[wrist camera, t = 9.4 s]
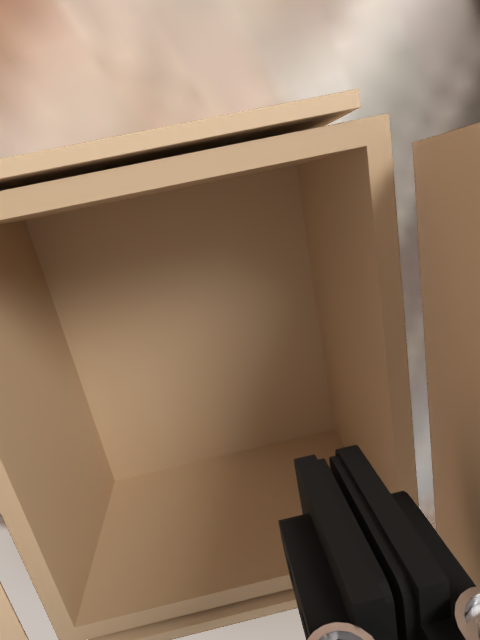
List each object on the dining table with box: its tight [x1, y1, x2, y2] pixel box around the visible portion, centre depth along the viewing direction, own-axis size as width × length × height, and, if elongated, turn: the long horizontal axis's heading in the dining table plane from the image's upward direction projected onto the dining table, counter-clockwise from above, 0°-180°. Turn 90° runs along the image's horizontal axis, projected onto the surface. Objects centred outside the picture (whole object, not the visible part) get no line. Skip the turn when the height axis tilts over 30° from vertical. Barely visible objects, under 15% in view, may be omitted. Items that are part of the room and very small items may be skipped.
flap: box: [412, 122, 480, 586], centre depth 11 cm, size 1×16×8 cm, turn 11°
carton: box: [0, 89, 419, 640], centre depth 20 cm, size 16×20×10 cm
